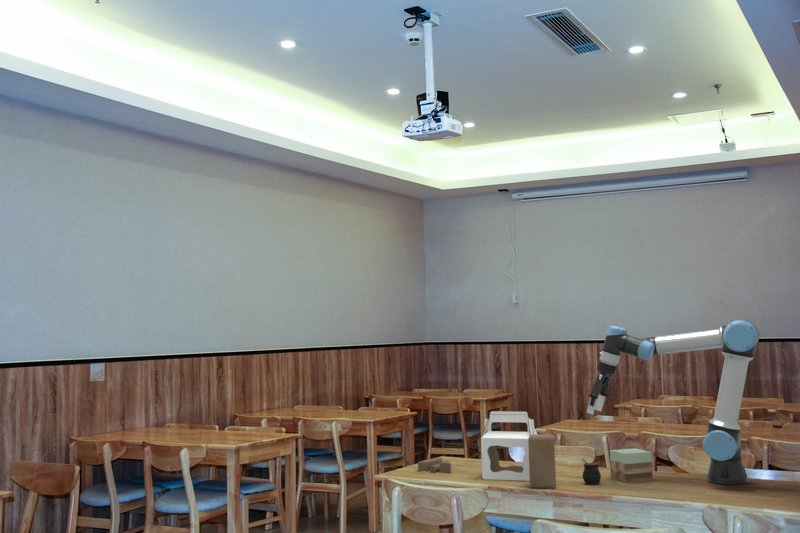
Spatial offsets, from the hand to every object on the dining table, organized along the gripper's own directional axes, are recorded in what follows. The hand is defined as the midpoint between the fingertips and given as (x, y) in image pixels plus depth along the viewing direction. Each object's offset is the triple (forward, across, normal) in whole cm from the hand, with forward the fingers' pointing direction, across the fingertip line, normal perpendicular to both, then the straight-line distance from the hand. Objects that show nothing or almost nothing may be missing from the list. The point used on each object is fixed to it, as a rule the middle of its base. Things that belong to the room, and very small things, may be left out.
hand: (593, 412), depth 340 cm
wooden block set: (+50, -6, -59) cm, 78 cm away
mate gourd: (+27, +8, +9) cm, 29 cm away
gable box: (+38, +4, -25) cm, 46 cm away
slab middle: (+19, -6, +20) cm, 28 cm away
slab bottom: (+23, -6, +21) cm, 32 cm away
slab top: (+15, -6, +19) cm, 25 cm away
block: (+32, +20, -7) cm, 38 cm away
